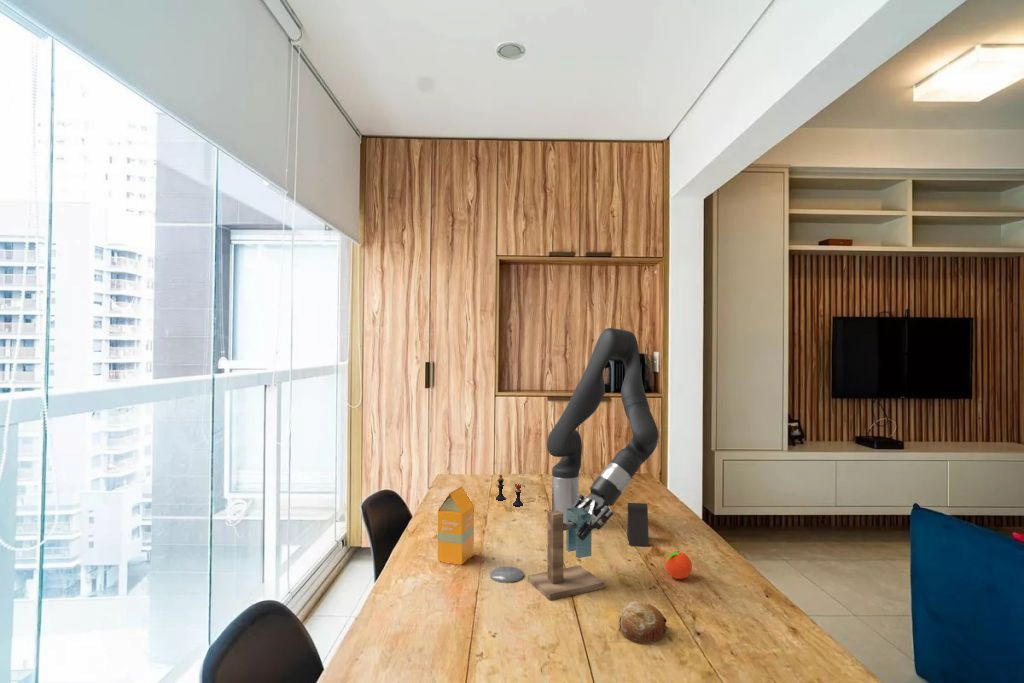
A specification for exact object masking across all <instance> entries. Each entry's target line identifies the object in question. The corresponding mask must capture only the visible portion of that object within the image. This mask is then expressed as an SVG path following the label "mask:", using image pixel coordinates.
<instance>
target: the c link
mask: <svg viewBox="0 0 1024 683" xmlns="http://www.w3.org/2000/svg"><path fill="white" fill-rule="evenodd" d="M589 517H590V513H589V512H588V511H586V510H584V509H582V508H579V507H576V508H569V509H566V523H568V522H574V523H576V529H571V530H565V531H566V532H565V533H566V534H565V535H566V536H565V538H566V539H565V542H566V543H565V545H566V546H565V550H566V552H568V553H569V552H574V551H575V557H576V558H577V559H582V558H585V557H586V558H587V557H592V531H591V532H590V533H589V534H588V536H587V537H586V538H585V539H584V540H583V541H582V540H581V539H580V538H579V537H578V536H577V534H578V533H579V531H580V530H581V529H582V527H583V526H584V525H585V524H587V520H588V519H589Z"/></svg>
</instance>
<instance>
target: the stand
mask: <svg viewBox="0 0 1024 683" xmlns="http://www.w3.org/2000/svg"><path fill="white" fill-rule="evenodd" d="M546 513H547V516H546V517H547V522H546V524H547V526H546V527H547V542H546V543H547V549H546V550H547V556H546V557H547V566H546V567H547V568H546V569H547V571H543V572H538V573H534V574H528V575H527V582H528V583H529V582H530V583H531V584H532V585H531V584H530V583H529V584H530V585H531V586H532V587H534V588H535V589H536V590H537V589H538V590H539V591H540V592H539V591H538V590H537V591H538V592H539V593H540V594H542V595H543V596H544V597H545V596H546V597H547V598H548V599H547V598H546V597H545V598H546V599H547V600H548V601H553V599H554V600H557V599H562V597H563V598H567V597H570V596H571V595H572V596H576V595H581V594H585V593H589V591H590V592H593V590H595V591H599V590H603V589H602V588H604V589H605V588H606V586H605V585H606V584H605V581H604V580H602V579H600V578H599V577H597V576H596V575H595V574H593V573H592V572H590V571H589V570H587V569H586V568H584V567H583V566H582V565H575V566H574V565H573V566H570V567H564V531H566V530H571V529H576V523H574V522H568V523H563V513H562V512H560V511H558V510H556V511H552V510H550V511H547V512H546ZM598 589H599V590H598ZM584 592H585V593H584ZM580 593H581V594H580ZM575 594H576V595H575ZM566 596H567V597H566Z"/></svg>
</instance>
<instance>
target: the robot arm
mask: <svg viewBox="0 0 1024 683" xmlns="http://www.w3.org/2000/svg"><path fill="white" fill-rule="evenodd" d="M611 359H615V360H622V363H623V365H624V369H625V374H624V379H623V381H622V385H621V390H620V396H621V397H620V398H621V401H622V406H623V409H624V410H623V411H624V412H625V415H626V418H627V420H628V421H629V425H630V429H631V433H632V435H631V436H632V437H631V439H630V440H629V443H627V444H626V446H625V447H624V448H621V449H620V450H619V451H618V452H617V453H616V455H614V457H613V458H612V459H611V461H610V462H609V463H608V464H607V466H605V467H604V469H602V471H601V472H600V473H599V476H597V478H596V479H595V480H594V482H593V483H592V484H591V486H590V487H589V491H590V493H589V494H588V495H587V496H584V495H583V494H582V493H580V483H579V482H580V481H579V480H580V478H579V477H580V469H581V468H582V451H583V448H582V447H583V442H582V438H581V434H580V433H579V431H578V430H577V429H578V427H579V426H581V425H582V424H583V423H584V422H586V421H587V420H588V419H589V418H590V417H592V415H593V414H594V413H595V412H596V411H597V409H598V407H599V406H600V404H601V403H602V401H603V398H604V397H605V395H606V394H605V393H606V387H605V386H606V385H605V384H606V383H605V379H604V371H605V369H606V366H607V364H608V362H609V360H611ZM640 359H641V358H640V351H639V344H638V340H637V337H636V335H635V333H633V332H632V331H629V330H625V329H619V328H613V327H608V328H604V330H603V331H601V333H600V335H599V337H598V338H597V341H596V343H595V345H594V349H593V351H592V353H591V356H590V359H589V361H588V364H587V365H586V368H585V370H584V372H583V374H582V376H581V378H580V380H579V382H578V383H577V385H576V387H575V389H574V391H573V393H572V394H571V397H570V399H569V401H568V403H567V405H566V406H565V408H564V410H563V413H562V414H561V416H560V417H559V419H558V420H557V422H556V424H555V425H554V426H553V428H552V430H551V431H550V432H549V435H548V437H547V441H546V448H547V449H546V450H547V452H548V453H549V454H550V455H551V456H552V457H554V458H555V457H556V458H560V461H558V462H557V463H556V464H555V465H554V466H552V470H551V474H552V476H551V481H552V482H551V483H552V485H551V486H552V487H551V489H552V490H551V493H552V510H551V511H556V510H558V511H560V512H562V513H563V523H566V509H569V508H576V507H579V508H582V509H584V510H586V511H588V512H589V513H590V517H589V519H588V520H587V524H585V525H584V526H583V527H582V529H581V530H580V531H579V533H578V534H577V536H578V537H579V538H580V539H581V540H582V541H583V540H584V539H585V538H586V537H587V536H588V534H589V533H590V532H591V533H592V531H594V530H598V531H600V530H601V528H603V527H604V526H605V525H606V523H607V522H608V521H609V520H610V518H612V516H613V515H614V512H613V511H612V509H611V508H610V507H613V506H614V505H615V503H616V502H617V501H618V500H619V498H620V496H621V495H622V494H623V493H624V491H625V490H626V488H627V487H628V485H630V482H631V480H632V479H633V477H634V476H635V474H636V473H637V472H638V471H639V469H640V467H641V466H642V465H643V463H645V462H646V461H647V460H648V458H650V456H651V455H653V453H654V451H655V449H657V446H658V442H659V430H658V427H657V424H656V421H655V419H654V417H653V415H652V413H651V410H650V404H649V402H648V399H647V395H646V394H647V393H646V391H645V387H644V384H643V377H642V369H641V360H640Z"/></svg>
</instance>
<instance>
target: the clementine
mask: <svg viewBox="0 0 1024 683" xmlns="http://www.w3.org/2000/svg"><path fill="white" fill-rule="evenodd" d="M664 565H665V566H664V567H665V570H666V572H667V573H668V575H669V576H671V577H672V578H673V579H676V580H677V579H678V580H683V579H687V578H688V577H689V576H690V574H691V573H692V570H693V562H692V561H691V558H690V557H689V556H688V555H687V554H686V553H685V552H683V551H680V550H675V551H672V552H670V553H669V554H667V556H666V557H665V560H664Z"/></svg>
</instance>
